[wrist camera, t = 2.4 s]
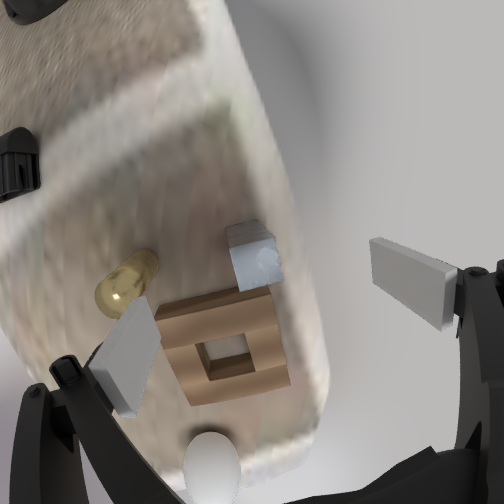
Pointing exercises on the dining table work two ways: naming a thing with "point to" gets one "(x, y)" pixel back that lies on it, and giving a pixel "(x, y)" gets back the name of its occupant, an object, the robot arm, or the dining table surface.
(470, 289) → the robot arm
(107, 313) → the round bit
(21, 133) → the end cap
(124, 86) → the dining table surface
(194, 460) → the white air blower
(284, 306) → the dining table surface
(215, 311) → the socket board
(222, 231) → the dining table surface
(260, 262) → the square bit
